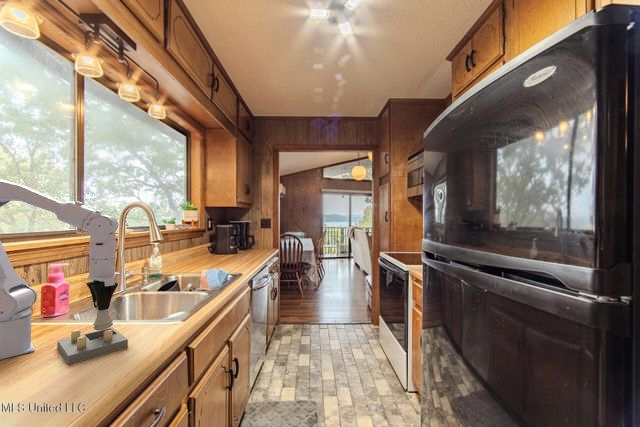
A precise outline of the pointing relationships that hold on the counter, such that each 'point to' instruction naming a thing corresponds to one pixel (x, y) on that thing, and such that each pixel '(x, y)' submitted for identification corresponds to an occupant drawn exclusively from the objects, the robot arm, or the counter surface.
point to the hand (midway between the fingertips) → (101, 308)
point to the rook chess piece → (102, 320)
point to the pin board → (90, 344)
